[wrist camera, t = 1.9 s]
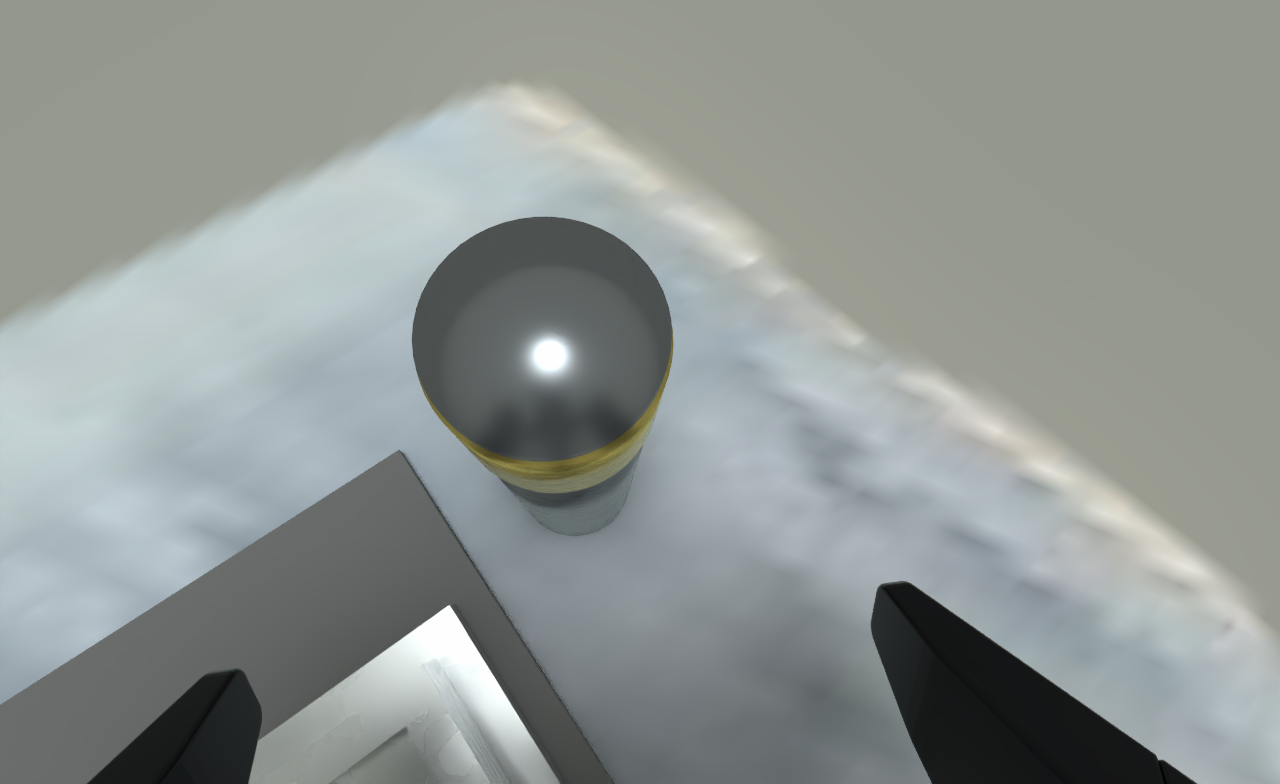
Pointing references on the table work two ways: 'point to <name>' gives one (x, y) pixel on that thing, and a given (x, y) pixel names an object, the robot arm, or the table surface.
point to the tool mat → (285, 634)
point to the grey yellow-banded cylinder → (547, 362)
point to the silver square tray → (411, 721)
